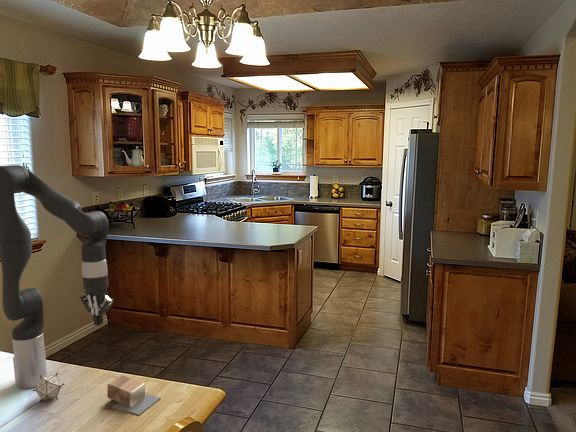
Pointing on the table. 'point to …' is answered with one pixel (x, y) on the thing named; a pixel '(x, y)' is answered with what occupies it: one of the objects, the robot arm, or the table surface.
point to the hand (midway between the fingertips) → (98, 324)
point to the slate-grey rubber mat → (138, 405)
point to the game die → (48, 387)
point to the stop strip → (110, 404)
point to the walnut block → (126, 391)
